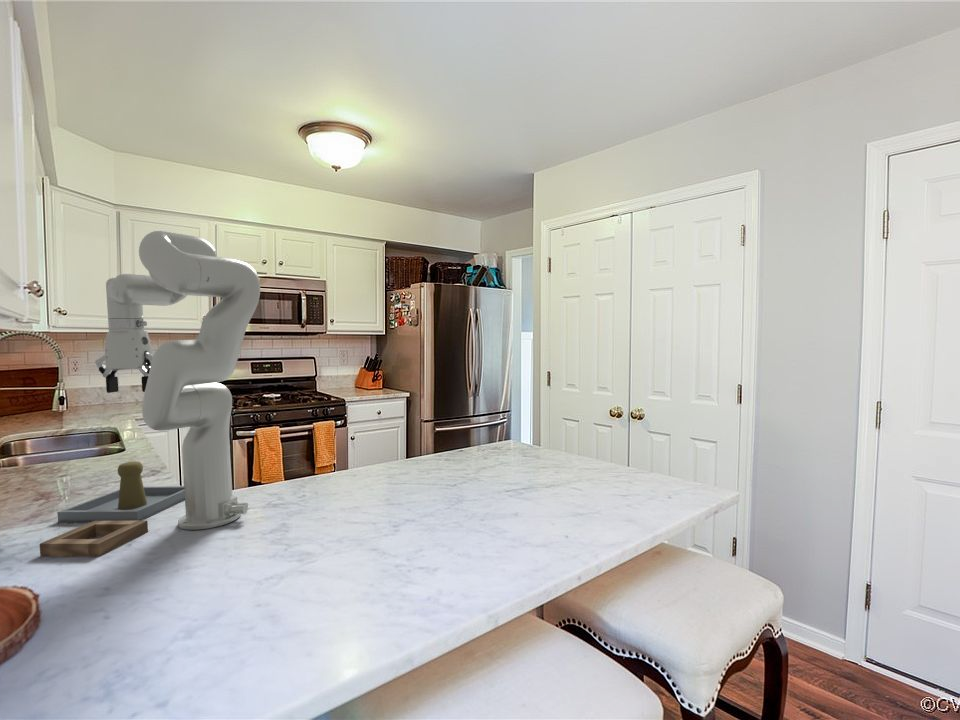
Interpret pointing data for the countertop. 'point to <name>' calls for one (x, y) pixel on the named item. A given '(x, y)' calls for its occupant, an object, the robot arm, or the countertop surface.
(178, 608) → the countertop surface
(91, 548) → the socket block
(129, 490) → the cork
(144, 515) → the tray
